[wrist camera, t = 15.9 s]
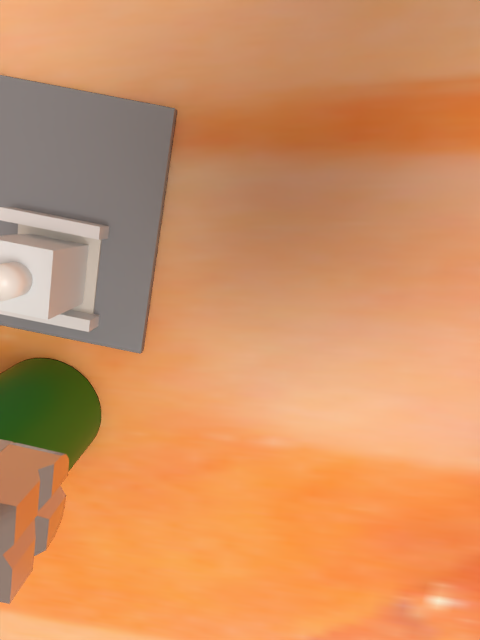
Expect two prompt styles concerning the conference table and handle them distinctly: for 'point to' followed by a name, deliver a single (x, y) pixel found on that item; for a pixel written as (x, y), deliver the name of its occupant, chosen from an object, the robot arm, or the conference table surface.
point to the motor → (48, 407)
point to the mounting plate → (88, 198)
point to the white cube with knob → (41, 275)
